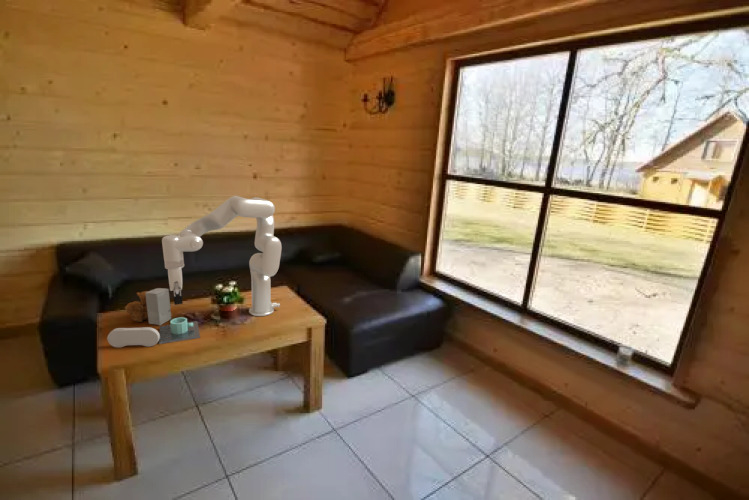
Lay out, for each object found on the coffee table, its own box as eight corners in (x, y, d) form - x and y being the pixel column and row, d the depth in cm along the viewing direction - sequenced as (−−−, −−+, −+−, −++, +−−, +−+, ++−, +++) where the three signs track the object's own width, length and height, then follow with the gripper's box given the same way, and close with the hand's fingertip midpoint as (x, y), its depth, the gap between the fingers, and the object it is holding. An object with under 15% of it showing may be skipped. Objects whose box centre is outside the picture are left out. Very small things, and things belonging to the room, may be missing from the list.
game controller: (161, 343, 165) (159, 326, 162) (159, 346, 162) (157, 328, 160) (110, 345, 161) (108, 327, 159) (108, 348, 159) (105, 330, 157)
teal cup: (171, 328, 176) (170, 318, 174) (193, 325, 180) (192, 315, 179) (171, 335, 170) (170, 324, 169) (193, 331, 174) (193, 321, 173)
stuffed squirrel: (164, 315, 191) (162, 290, 188) (138, 326, 178) (135, 300, 175) (149, 311, 194) (147, 286, 191) (123, 321, 182) (120, 296, 178)
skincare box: (160, 325, 180) (157, 294, 176) (146, 323, 181) (143, 292, 177) (172, 318, 188) (170, 288, 184) (160, 316, 189) (157, 286, 185)
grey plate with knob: (197, 322, 185) (196, 313, 184) (199, 337, 171) (199, 327, 170) (159, 328, 178) (158, 318, 176) (159, 344, 164) (158, 333, 163)
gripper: (164, 258, 172) (168, 294, 176) (164, 270, 157) (169, 308, 162) (183, 257, 175) (186, 291, 180) (184, 268, 160) (188, 306, 165)
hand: (178, 299), depth 171 cm, fingers open, 9 cm apart
